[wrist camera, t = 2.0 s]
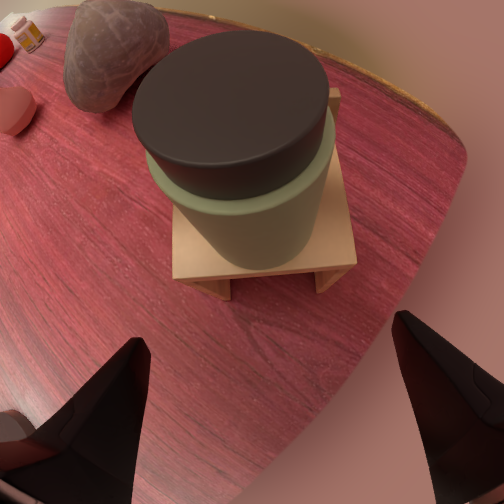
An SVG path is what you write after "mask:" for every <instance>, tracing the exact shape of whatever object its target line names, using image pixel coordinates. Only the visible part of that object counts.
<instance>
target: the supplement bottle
mask: <svg viewBox="0 0 504 504" xmlns="http://www.w3.org/2000/svg"><path fill="white" fill-rule="evenodd" d="M26 20H27V19H26V18H25V16H22V17H21V18H20V19H18V20H17V21H16V22H15V23H14V24H13V25H12V26H11V29H12V30H13V31H15V33H14V37H15V38H16V40H17V41H18V42H19V43H20V44H21V45H22V47H23V48H24V49H25V50H26V51H27V52H28V53H30V52H32V51H34V50H35V49H36V48H37V47H39V46H40V45H41V43H42V42H43V41H44V39H45V38H44V36H43V35H42V33H41V32H40V31H39V30H38V28H37V27H36V26H35V24H34V23H33V22H32V21H26Z"/></svg>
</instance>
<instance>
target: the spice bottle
mask: <svg viewBox="0 0 504 504" xmlns="http://www.w3.org/2000/svg"><path fill="white" fill-rule="evenodd" d="M329 93H330V91H329V82H328V78H327V75H326V72H325V70H324V68H323V66H322V65H321V63H320V62H319V60H318V59H317V58H316V57H315V56H314V55H313V54H312V53H311V52H310V51H309V50H308V49H306V48H305V47H304V46H302V45H301V44H299V43H297V42H295V41H293V40H291V39H289V38H286V37H284V36H280V35H277V34H273V33H269V32H263V31H252V30H239V31H228V32H221V33H216V34H212V35H208V36H205V37H202V38H199V39H196V40H194V41H191V42H189V43H187V44H185V45H183V46H181V47H179V48H178V49H176V50H174V51H173V52H171V53H170V54H168V55H167V56H166V57H164V58H163V59H162V60H161V61H160V62H158V63H157V64H156V65H155V66H154V67H153V68H152V69H151V70H150V71H149V73H148V74H147V75H146V77H145V78H144V79H143V81H142V83H141V84H140V86H139V88H138V90H137V92H136V95H135V98H134V101H133V107H132V123H133V127H134V131H135V133H136V135H137V137H138V139H139V141H140V142H141V143H142V145H143V146H144V147H145V149H146V158H147V164H148V167H149V171H150V173H151V175H152V177H153V179H154V181H155V182H156V184H157V185H158V186H159V188H160V189H161V190H162V191H163V193H164V194H165V195H166V196H167V197H168V198H169V199H170V200H171V202H172V203H173V204H174V205H175V206H176V207H177V208H178V209H179V211H180V212H181V213H182V214H183V215H184V216H185V217H186V218H187V219H188V221H189V222H190V223H191V224H192V225H193V226H194V227H195V228H196V229H197V231H198V232H199V233H200V234H201V235H202V236H203V237H204V238H205V239H206V240H207V242H208V243H209V244H210V245H211V246H212V247H213V248H214V249H215V250H216V251H217V252H218V253H219V254H220V255H221V256H222V257H223V258H224V259H225V260H227V261H228V262H230V263H232V264H234V265H236V266H239V267H241V268H245V269H251V270H266V269H272V268H275V267H278V266H281V265H283V264H285V263H287V262H288V261H290V260H292V259H293V258H294V257H295V256H297V255H298V254H299V253H300V252H301V251H302V250H303V248H304V247H305V245H306V244H307V243H308V241H309V239H310V237H311V234H312V231H313V227H314V224H315V220H316V217H317V213H318V209H319V205H320V202H321V198H322V194H323V190H324V186H325V182H326V178H327V174H328V170H329V166H330V162H331V158H332V154H333V150H334V144H335V137H336V136H335V123H334V119H333V115H332V113H331V110H330V108H329V106H328V100H329Z"/></svg>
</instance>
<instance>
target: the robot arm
mask: <svg viewBox="0 0 504 504" xmlns="http://www.w3.org/2000/svg"><path fill="white" fill-rule="evenodd" d="M392 337H393V341H394V345H395V349H396V353H397V357H398V362H399V366H400V370H401V374H402V377H403V380H404V383H405V386H406V388H407V392H408V395H409V398H410V401H411V404H412V408H413V411H414V414H415V417H416V421H417V424H418V428H419V431H420V435H421V439H422V442H423V446H424V450H425V454H426V458H427V462H428V466H429V471H430V475H431V480H432V484H433V489H434V494H435V499H436V504H465V503H467V502H469V504H504V384H503V383H501V382H500V381H498V380H497V379H495V378H494V377H493V376H491V375H490V374H489V373H487V372H486V371H485V370H483V369H482V368H481V367H480V366H478V365H477V364H476V363H474V362H473V361H472V360H471V359H470V358H468V357H467V356H466V355H465V354H463V353H462V352H461V351H459V350H458V349H457V348H456V347H454V346H453V345H452V344H451V343H449V342H448V341H447V340H446V339H444V338H443V337H441V336H440V335H439V334H438V333H437V332H435V331H434V330H433V329H431V328H430V327H429V326H427V325H426V324H425V323H424V322H422V321H421V320H420V319H418V318H417V317H415V316H414V315H413V314H411V313H410V312H409V311H407V310H402V311H397V312H396V313H395V316H394V320H393V324H392ZM150 363H151V353H150V351H149V349H148V347H147V345H146V343H145V341H144V340H143V338H141V337H133V338H130V339H129V340H128V341H127V342H126V343H125V344H124V345H123V346H122V347H121V348H120V349H119V350H118V351H117V352H116V353H115V354H114V355H113V356H112V357H111V358H110V359H109V360H108V361H107V362H106V363H105V364H104V365H103V366H102V367H101V368H100V369H99V370H98V371H97V372H96V373H95V374H94V375H93V376H92V377H91V378H90V379H89V380H88V381H87V382H86V383H85V384H84V385H83V386H82V387H81V388H80V389H79V390H78V391H77V392H76V393H75V394H74V396H73V397H72V398H71V399H70V400H69V401H68V402H67V403H66V404H65V405H64V406H63V407H62V408H61V409H60V410H58V411H57V412H56V413H55V414H54V415H53V416H52V417H51V418H50V419H48V420H47V421H46V422H45V423H44V424H43V425H41V426H40V427H39V428H38V429H37V430H36V431H34V432H33V433H32V434H31V435H29V436H28V437H26V438H24V439H21V440H16V441H8V442H0V504H131V501H132V492H133V488H132V487H133V482H134V475H135V467H136V460H137V453H138V447H139V440H140V434H141V428H142V422H143V417H144V411H145V406H146V400H147V395H148V386H149V374H150Z"/></svg>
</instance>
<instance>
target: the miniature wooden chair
mask: <svg viewBox="0 0 504 504" xmlns="http://www.w3.org/2000/svg"><path fill="white" fill-rule="evenodd" d="M329 91H330V93H329V100H328V106H329V108H330V110H331V113H332V115H333V119H334V123H335V125H336V120H337V115H338V110H339V105H340V100H341V95H340V92H339V89H338V88H329ZM356 264H357V258H356V251H355V244H354V238H353V231H352V225H351V219H350V214H349V208H348V203H347V197H346V192H345V187H344V182H343V177H342V172H341V168H340V163H339V159H338V154H337V150H336V146H335V144H334V150H333V154H332V158H331V162H330V166H329V170H328V174H327V178H326V182H325V186H324V190H323V194H322V198H321V202H320V205H319V209H318V213H317V217H316V220H315V224H314V227H313V231H312V234H311V237H310V239H309V241H308V243H307V244H306V245H305V247H304V248H303V250H302V251H301V252H300V253H299V254H298V255H297V256H295V257H294V258H293V259H292V260H290V261H288V262H287V263H285V264H283V265H281V266H278V267H275V268H272V269H266V270H251V269H245V268H241V267H239V266H236V265H234V264H232V263H230V262H228V261H227V260H225V259H224V258H223V257H222V256H221V255H220V254H219V253H218V252H217V251H216V250H215V249H214V248H213V247H212V246H211V245H210V244H209V243H208V242H207V240H206V239H205V238H204V237H203V236H202V235H201V234H200V233H199V232H198V231H197V229H196V228H195V227H194V226H193V225H192V224H191V223H190V222H189V221H188V219H187V218H186V217H185V216H184V215H183V214H182V213H181V212H180V211H179V209H178V208H177V207H176V206H175V205H174V204H173V225H172V279H173V280H176V281H178V282H180V283H183V284H185V285H187V286H190V287H192V288H194V289H197V290H199V291H202V292H204V293H206V294H209V295H211V296H214V297H216V298H219V299H221V300H223V301H229V300H231V294H230V279H236V278H248V277H261V276H273V275H284V274H295V273H306V272H314V274H315V284H316V293H323V292H325V291H326V290H327V289H328V288H329V287H330V286H332V285H333V284H334V283H335V282H336V281H337V280H339V279H340V278H341V277H342V276H343V275H344V274H346V273H347V272H348V271H349V270H350V269H351V268H353V267H354V266H355V265H356Z"/></svg>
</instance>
